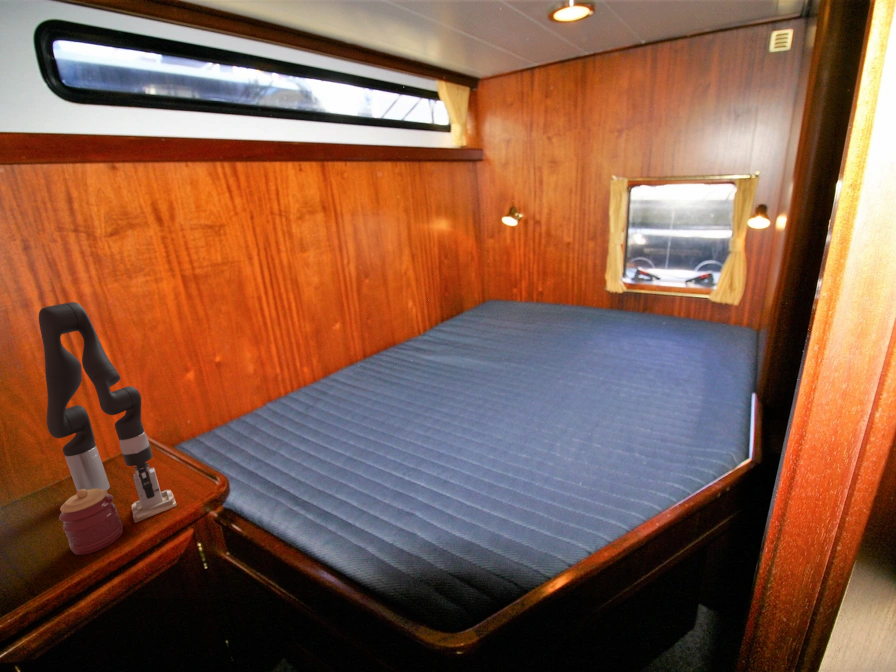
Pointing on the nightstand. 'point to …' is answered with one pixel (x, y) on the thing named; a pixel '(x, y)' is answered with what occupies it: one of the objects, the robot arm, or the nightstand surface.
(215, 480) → the nightstand surface
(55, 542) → the nightstand surface
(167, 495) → the white shallow tray
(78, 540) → the canister
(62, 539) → the nightstand surface
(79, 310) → the robot arm
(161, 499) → the skincare box
